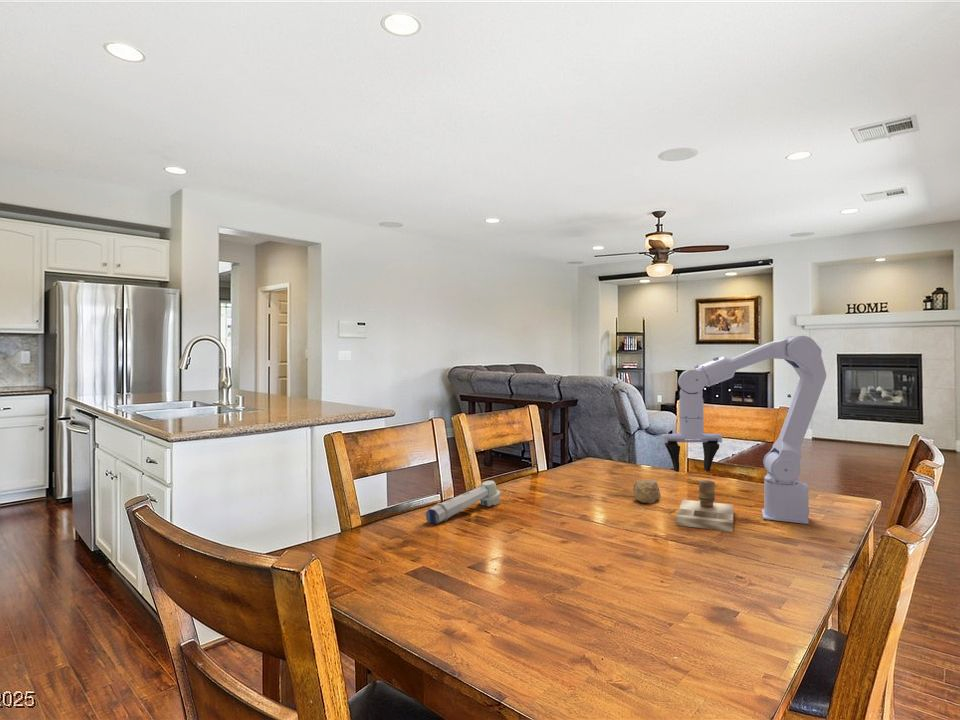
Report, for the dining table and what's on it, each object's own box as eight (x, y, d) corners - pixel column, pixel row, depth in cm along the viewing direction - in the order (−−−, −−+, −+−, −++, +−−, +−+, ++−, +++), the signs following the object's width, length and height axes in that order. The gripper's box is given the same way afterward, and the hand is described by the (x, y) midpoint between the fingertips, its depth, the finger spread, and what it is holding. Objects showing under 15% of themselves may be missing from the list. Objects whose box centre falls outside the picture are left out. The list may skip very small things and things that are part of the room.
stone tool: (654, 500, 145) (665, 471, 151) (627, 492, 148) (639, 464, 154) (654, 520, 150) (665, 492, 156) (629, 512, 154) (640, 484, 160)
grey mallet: (422, 506, 133) (487, 474, 152) (425, 533, 134) (489, 497, 153) (438, 510, 129) (502, 476, 148) (441, 537, 130) (504, 500, 149)
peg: (715, 505, 139) (715, 481, 139) (714, 508, 136) (714, 484, 136) (699, 503, 141) (699, 479, 140) (698, 507, 137) (698, 482, 137)
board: (733, 512, 139) (733, 504, 139) (732, 531, 125) (732, 523, 125) (682, 507, 144) (682, 499, 144) (676, 524, 130) (676, 516, 130)
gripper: (714, 415, 144) (714, 467, 145) (657, 415, 145) (658, 467, 145) (725, 418, 137) (725, 473, 138) (666, 419, 138) (666, 473, 138)
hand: (691, 470), depth 141 cm, fingers open, 7 cm apart
